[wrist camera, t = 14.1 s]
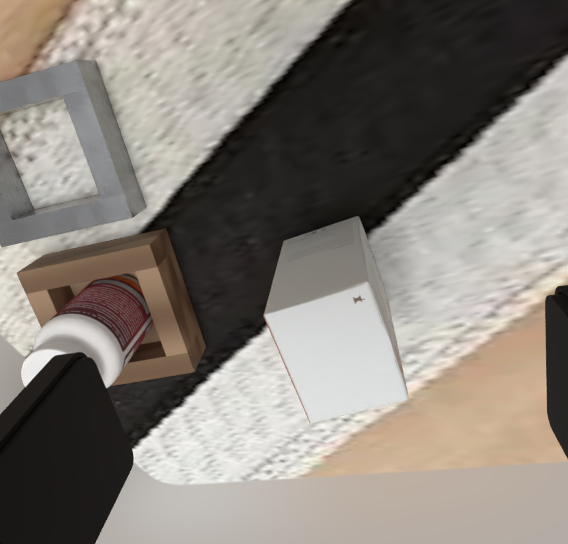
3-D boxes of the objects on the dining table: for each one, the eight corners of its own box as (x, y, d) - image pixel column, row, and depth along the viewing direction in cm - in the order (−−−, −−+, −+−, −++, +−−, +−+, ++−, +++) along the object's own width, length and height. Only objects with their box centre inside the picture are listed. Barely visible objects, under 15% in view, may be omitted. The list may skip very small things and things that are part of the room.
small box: (281, 239, 41) (260, 313, 29) (359, 213, 39) (370, 279, 27) (316, 326, 43) (309, 427, 31) (390, 304, 42) (412, 401, 30)
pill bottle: (80, 269, 42) (-1, 335, 32) (153, 271, 42) (95, 339, 31) (91, 336, 44) (19, 418, 34) (161, 339, 44) (109, 422, 34)
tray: (43, 255, 43) (16, 273, 39) (165, 228, 41) (149, 244, 37) (91, 366, 47) (71, 392, 43) (205, 346, 45) (194, 371, 41)
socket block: (-37, 98, 39) (-66, 101, 36) (95, 60, 37) (76, 60, 34) (23, 235, 42) (1, 247, 40) (146, 207, 41) (132, 217, 38)
